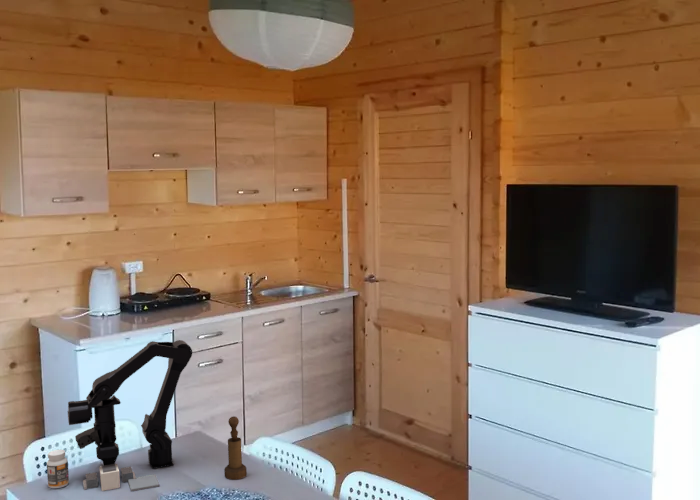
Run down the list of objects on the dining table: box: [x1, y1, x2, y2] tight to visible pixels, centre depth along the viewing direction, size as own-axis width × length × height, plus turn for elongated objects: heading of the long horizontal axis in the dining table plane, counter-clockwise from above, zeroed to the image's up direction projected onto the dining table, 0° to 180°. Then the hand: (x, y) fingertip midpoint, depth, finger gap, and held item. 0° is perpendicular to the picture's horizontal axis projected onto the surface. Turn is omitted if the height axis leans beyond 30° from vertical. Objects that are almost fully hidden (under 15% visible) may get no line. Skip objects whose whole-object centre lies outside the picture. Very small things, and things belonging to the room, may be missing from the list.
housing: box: [82, 466, 137, 491], centre depth 214 cm, size 15×6×2 cm, turn 113°
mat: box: [128, 473, 160, 492], centre depth 212 cm, size 8×8×1 cm
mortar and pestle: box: [223, 415, 248, 480], centre depth 216 cm, size 7×6×18 cm
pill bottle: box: [46, 449, 70, 489], centre depth 212 cm, size 6×6×10 cm
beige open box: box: [99, 463, 121, 492], centre depth 211 cm, size 5×6×6 cm
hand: (107, 469), depth 220 cm, fingers open, 8 cm apart
